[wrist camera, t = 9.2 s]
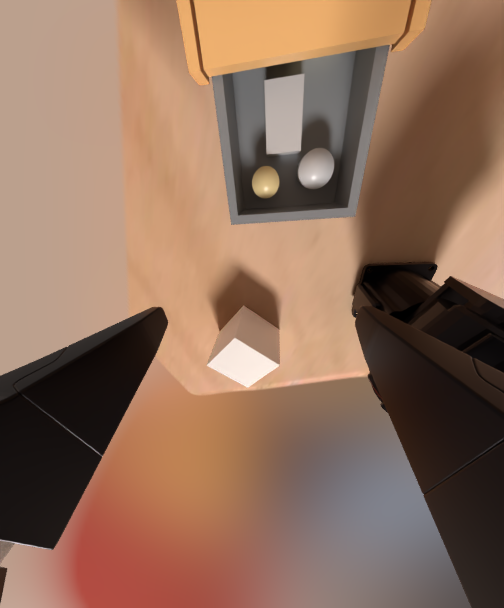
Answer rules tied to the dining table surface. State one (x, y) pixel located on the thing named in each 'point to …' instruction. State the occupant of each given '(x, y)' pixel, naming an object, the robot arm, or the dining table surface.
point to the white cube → (246, 348)
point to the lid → (290, 30)
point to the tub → (298, 135)
